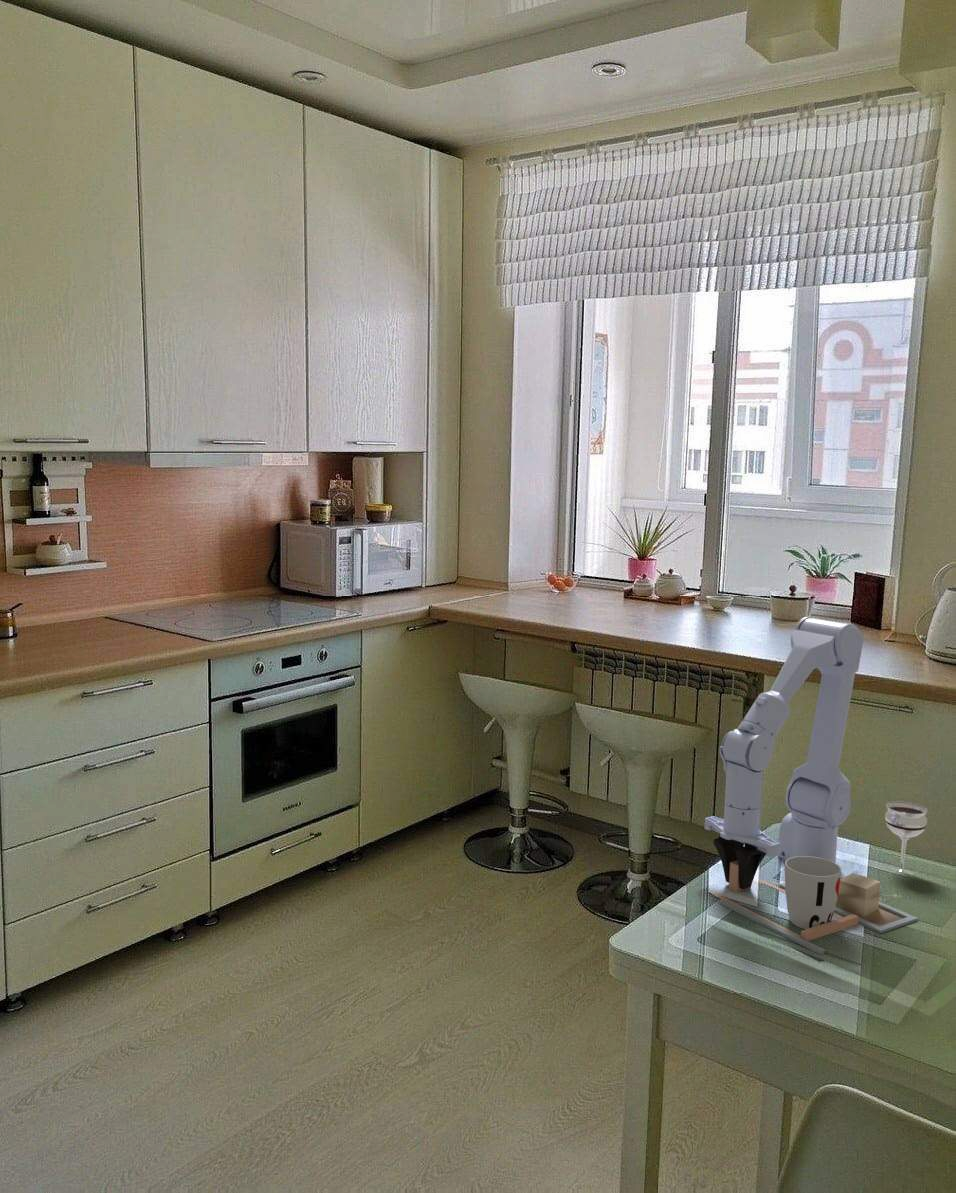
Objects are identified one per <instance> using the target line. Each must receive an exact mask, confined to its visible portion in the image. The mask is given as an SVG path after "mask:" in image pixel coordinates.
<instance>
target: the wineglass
mask: <svg viewBox="0 0 956 1193" xmlns="http://www.w3.org/2000/svg"><path fill="white" fill-rule="evenodd" d="M885 806H886V809H887V811H885V814H884V822H885V824H886V827H887V828H888V829H889V830H890V832H891V833H893V834H894V835H896V836H898V837H899V839H900V840H901V852H900V856H901V858H900V868H893V871H898V872H901V873H903V874H906V875H907V874H908V875H910V876H913V873H914V872H912V871H909V870H906V869H904V866H905V865H904V864H905V858H906V856H905V855H906V848H907V841H909V840H910V838H915V837H918V836H920V835H921V833H923V832H924V831H925V830H926V828H927V826H928V818H927V817H926V814H927V813H928V808H926V807H925V806H924V805H920V804H918V803H917V804H916V803H914V802H908V801H891V802H890V801H889V802H887V803H886V804H885ZM911 872H912V873H911Z"/></svg>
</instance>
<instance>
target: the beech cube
mask: <svg viewBox="0 0 956 1193" xmlns="http://www.w3.org/2000/svg"><path fill="white" fill-rule="evenodd" d="M880 891H881V881H880V880H877V879H874V878H871V877H869V876H868V877H867V876H864V875H861V874H859V873H855V872H851V873H850V874H848V875H846V876H844V877H842V878H840V885H839V893H838V901H837V907H838V908H841V909H843V910H846V911H849V912H852V913H855V914H857V915H860V916H863V917H865V916H867V915H868V914H870V913H872V912H874V911H876V910H877V909H878V908H879V907H878V906H879V901H880Z"/></svg>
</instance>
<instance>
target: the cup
mask: <svg viewBox="0 0 956 1193" xmlns="http://www.w3.org/2000/svg"><path fill="white" fill-rule="evenodd" d="M784 862H785V863H784V881H785V882H784V883H785V889H784V890H785V892H786V894H785V900H786V908H787V914H788V919H789V921H790V923H792V925H794V926H796V927H798V928H801V929H803V930H805V929H809V928H812V927H815V926H818V925H821V924H824V923H827V922H830V921H833V917H834V916H833V914H834V913H835V912H834V910H835V906H836V903H837V899H838V893H839V885H840V879H842V878H841V877H842V867H841V866H840V865H839V864H837V863H834V862H832V861H829V860H826V859H823V858H818V857H811V856H796V857H791V858H789V859H787V860H785V861H784Z"/></svg>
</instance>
